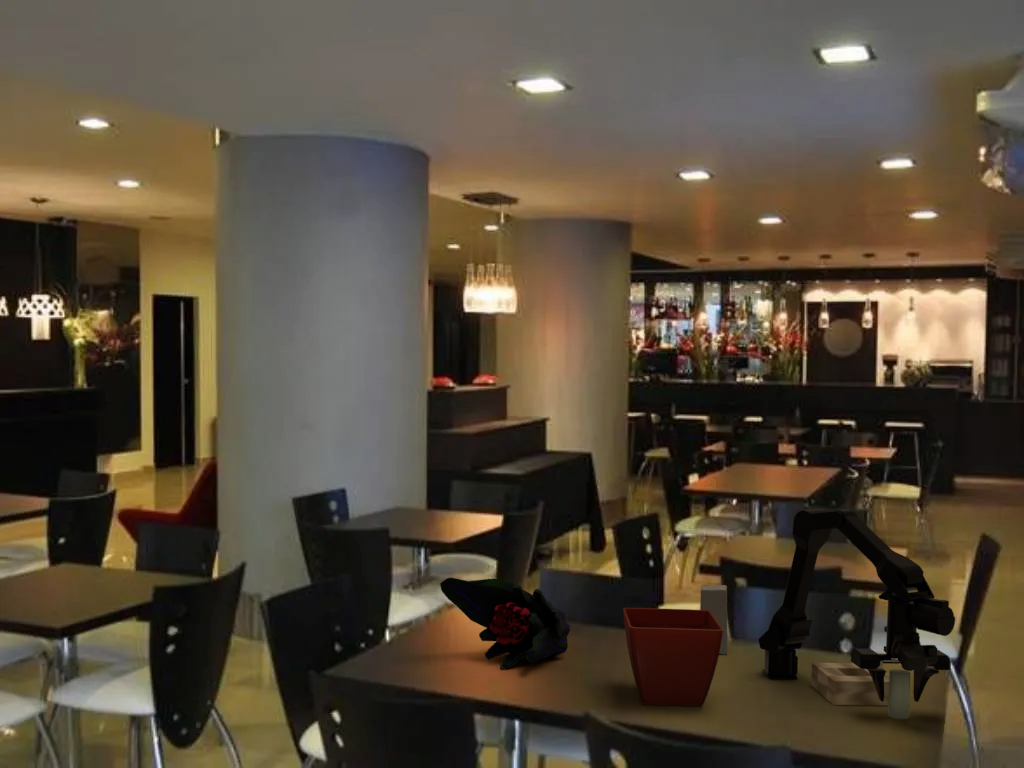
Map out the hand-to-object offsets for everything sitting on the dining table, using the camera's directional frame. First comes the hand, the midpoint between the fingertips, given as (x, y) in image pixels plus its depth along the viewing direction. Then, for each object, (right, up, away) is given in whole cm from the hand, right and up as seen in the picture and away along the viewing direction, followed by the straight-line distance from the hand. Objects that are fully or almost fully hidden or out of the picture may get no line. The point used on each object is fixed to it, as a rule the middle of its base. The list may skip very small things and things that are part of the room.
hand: (898, 701), depth 223 cm
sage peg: (0, -3, 0) cm, 3 cm away
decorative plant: (-78, 0, +31) cm, 84 cm away
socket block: (-5, -3, +14) cm, 15 cm away
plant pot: (-46, -2, +8) cm, 46 cm away
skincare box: (-29, -2, +48) cm, 56 cm away
